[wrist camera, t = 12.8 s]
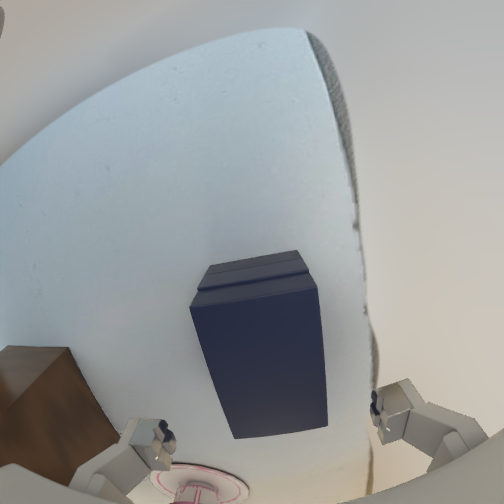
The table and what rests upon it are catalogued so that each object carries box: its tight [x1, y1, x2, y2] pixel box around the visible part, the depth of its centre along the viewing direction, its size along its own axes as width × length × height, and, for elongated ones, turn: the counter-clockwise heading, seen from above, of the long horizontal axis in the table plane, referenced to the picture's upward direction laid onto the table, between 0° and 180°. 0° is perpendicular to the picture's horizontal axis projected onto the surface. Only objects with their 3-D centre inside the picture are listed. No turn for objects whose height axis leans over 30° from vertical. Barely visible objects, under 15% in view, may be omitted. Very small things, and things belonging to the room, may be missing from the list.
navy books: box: [197, 250, 309, 291], centre depth 16 cm, size 9×6×4 cm, turn 11°
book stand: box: [0, 346, 120, 487], centre depth 13 cm, size 14×11×18 cm
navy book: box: [189, 272, 328, 439], centre depth 14 cm, size 9×6×2 cm, turn 11°
